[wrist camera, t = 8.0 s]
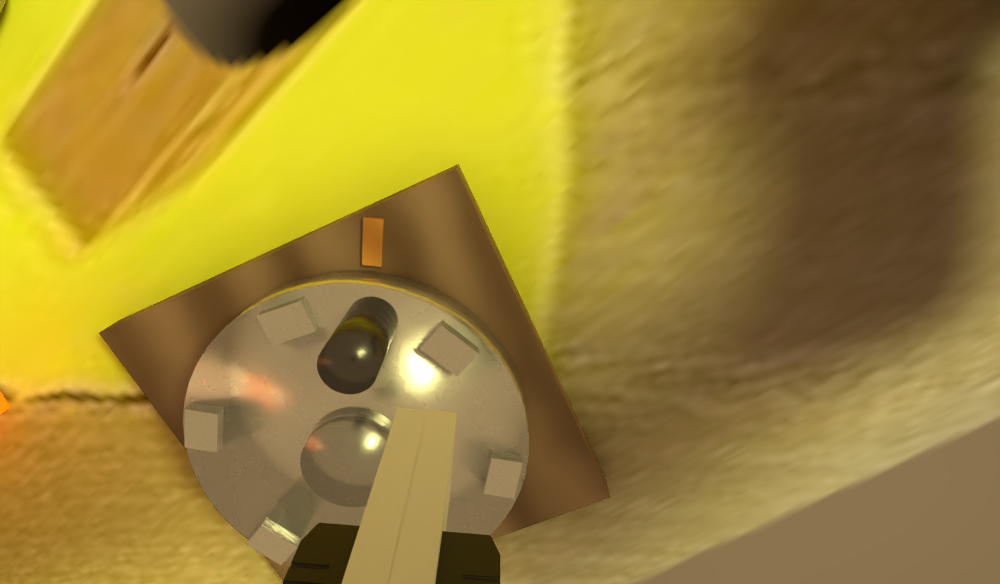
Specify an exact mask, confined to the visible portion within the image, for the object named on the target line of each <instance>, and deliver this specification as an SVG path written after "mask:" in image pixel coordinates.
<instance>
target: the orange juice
mask: <svg viewBox="0 0 1000 584" xmlns="http://www.w3.org/2000/svg"><path fill="white" fill-rule="evenodd" d="M9 408H10V406H9V404H8V403H7V401H6V400H5V398H4V396H3V395H2V393H1V391H0V414H2V413H3V412H5V411H6V410H8V409H9Z"/></svg>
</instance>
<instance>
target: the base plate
mask: <svg viewBox="0 0 1000 584" xmlns="http://www.w3.org/2000/svg"><path fill="white" fill-rule="evenodd" d="M339 270H367V271H376V272H385V273H390V274H394V275H398V276H402V277H406V278H410V279H413V280H415V281H418V282H421V283H423V284H426V285H429V286H431V287H433V288H435V289H437V290H439V291H441V292H443V293H445V294H447V295H448V296H450V297H452V298H453V299H455V300H456V301H458V302H459V303H461V304H462V305H464V306H465V307H466V308H468V309H469V310H470V311H472V312H473V313H474V314H475V315H476V316H477V317H478V318H479V319H481V320H482V321H483V322H484V323H485V324H486V325H487V326H488V327H489V329H490V330H491V331H492V332H493V333H494V334H495V336H496V337H497V338H498V339H499V340H500V342H501V343H502V345H503V347H504V348H505V350H506V351H507V353H508V354H509V356H510V357H511V360H512V362H513V364H514V366H515V368H516V370H517V372H518V375H519V378H520V381H521V384H522V388H523V391H524V395H525V402H526V409H527V420H528V433H529V457H528V463H527V469H526V475H525V478H524V481H523V484H522V487H521V490H520V493H519V495H518V497H517V499H516V501H515V503H514V505H513V507H512V509H511V510H510V511H509V513H508V514H507V516H506V517H505V519H504V520H503V521H502V523H501V524H500V525H499V526H498V527H497V528H496V529H495V530H494V532H493V533H492V534H491V535H490V536H491V538H492V539H494V538H497V537H500V536H502V535H505V534H508V533H511V532H514V531H516V530H519V529H522V528H525V527H528V526H531V525H533V524H536V523H539V522H542V521H545V520H547V519H550V518H553V517H556V516H559V515H561V514H564V513H567V512H570V511H573V510H576V509H578V508H581V507H584V506H587V505H590V504H592V503H595V502H598V501H601V500H604V499H607V498H609V497H610V494H609V491H608V487H607V483H606V479H605V477H604V475H603V473H602V471H601V468H600V466H599V464H598V462H597V460H596V458H595V456H594V453H593V451H592V449H591V447H590V445H589V443H588V441H587V438H586V436H585V434H584V432H583V430H582V428H581V426H580V423H579V421H578V419H577V417H576V415H575V413H574V411H573V409H572V406H571V404H570V402H569V400H568V398H567V396H566V394H565V391H564V389H563V387H562V385H561V383H560V381H559V379H558V376H557V374H556V372H555V370H554V368H553V366H552V364H551V361H550V359H549V357H548V355H547V353H546V351H545V349H544V346H543V344H542V342H541V340H540V338H539V336H538V334H537V331H536V329H535V327H534V325H533V323H532V321H531V319H530V316H529V314H528V312H527V310H526V308H525V306H524V304H523V301H522V299H521V297H520V295H519V293H518V291H517V289H516V286H515V284H514V282H513V280H512V278H511V276H510V274H509V271H508V269H507V267H506V265H505V263H504V261H503V259H502V256H501V254H500V252H499V250H498V248H497V246H496V244H495V241H494V239H493V237H492V235H491V233H490V231H489V229H488V226H487V224H486V222H485V220H484V218H483V216H482V214H481V211H480V209H479V207H478V205H477V203H476V201H475V199H474V196H473V194H472V192H471V190H470V188H469V186H468V184H467V181H466V179H465V177H464V175H463V173H462V171H461V169H460V166H459V164H458V165H456V166H454V167H451V168H449V169H447V170H445V171H443V172H441V173H438V174H436V175H434V176H432V177H430V178H428V179H425V180H423V181H421V182H419V183H417V184H414V185H412V186H410V187H408V188H406V189H404V190H401V191H399V192H397V193H395V194H393V195H391V196H388V197H386V198H384V199H382V200H380V201H378V202H375V203H373V204H371V205H369V206H367V207H365V208H362V209H360V210H358V211H356V212H354V213H352V214H349V215H347V216H345V217H343V218H341V219H338V220H336V221H334V222H332V223H330V224H328V225H325V226H323V227H321V228H319V229H317V230H315V231H312V232H310V233H308V234H306V235H304V236H302V237H299V238H297V239H295V240H293V241H291V242H289V243H286V244H284V245H282V246H280V247H278V248H276V249H273V250H271V251H269V252H267V253H265V254H262V255H260V256H258V257H256V258H254V259H252V260H249V261H247V262H245V263H243V264H241V265H239V266H236V267H234V268H232V269H230V270H228V271H226V272H223V273H221V274H219V275H217V276H215V277H213V278H210V279H208V280H206V281H204V282H202V283H200V284H197V285H195V286H193V287H191V288H189V289H186V290H184V291H182V292H180V293H178V294H176V295H173V296H171V297H169V298H167V299H165V300H163V301H160V302H158V303H156V304H154V305H152V306H150V307H147V308H145V309H143V310H141V311H139V312H137V313H134V314H132V315H130V316H128V317H126V318H123V319H121V320H119V321H117V322H116V323H114V324H112V325H111V326H109V327H108V328H106V329H105V330H103V331H101V332H100V333H99V334H100V335H101V336H102V338H103V339H104V340H105V342H106V343H107V344H108V346H109V347H110V348H111V350H112V351H113V352H114V354H115V355H116V356H117V358H118V359H119V361H120V362H121V363H122V365H123V366H124V367H125V369H126V370H127V371H128V373H129V374H130V375H131V377H132V378H133V379H134V381H135V382H136V383H137V385H138V386H139V387H140V389H141V390H142V391H143V393H144V394H145V395H146V397H147V398H148V399H149V401H150V402H151V403H152V405H153V406H154V407H155V409H156V410H157V411H158V413H159V414H160V415H161V417H162V418H163V419H164V421H165V422H166V424H167V425H168V426H169V428H170V429H171V430H172V432H173V433H174V434H175V436H176V437H177V438H178V440H179V441H180V442H181V444H182V445H183V446H184V428H183V413H184V401H185V397H186V393H187V388H188V384H189V381H190V379H191V376H192V374H193V372H194V369H195V367H196V365H197V363H198V361H199V359H200V358H201V356H202V355H203V353H204V352H205V350H206V348H207V347H208V346H209V344H210V343H211V342H212V341H213V340H214V339H215V338H216V337H217V335H218V334H219V333H220V332H221V331H222V330H223V329H224V328H225V327H226V326H227V325H229V324H230V323H231V322H232V321H233V320H234V319H235V318H236V317H237V316H239V315H240V314H241V313H242V312H243V311H244V310H245V309H247V308H248V307H249V306H250V305H251V304H253V303H254V302H255V301H256V300H257V299H259V298H260V297H262V296H264V295H265V294H267V293H269V292H270V291H272V290H274V289H275V288H277V287H279V286H282V285H284V284H286V283H289V282H291V281H293V280H296V279H299V278H303V277H306V276H310V275H314V274H317V273H324V272H331V271H339ZM185 449H186V448H185ZM186 450H187V449H186ZM266 558H267V559H268V560H269V562H270V563H271V564H272V566H273V567H274V568H275V570H276V571H277V572H278V574H279V575H280V576H281V578H282V579H283V580H284V578H285V576H286V573H287V571H288V569H289V567H290V566H291V564H290V563H288V562H286V561H284V562H283V564H282V565H279V564H278V563H276V562H274V561H273V560H271V559H269V558H268V557H266Z"/></svg>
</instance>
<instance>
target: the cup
mask: <svg viewBox="0 0 1000 584" xmlns="http://www.w3.org/2000/svg"><path fill="white" fill-rule="evenodd" d="M5 2H6V0H0V13H1V11H2V9H3V7H4V5H5Z"/></svg>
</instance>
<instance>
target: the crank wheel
mask: <svg viewBox="0 0 1000 584" xmlns="http://www.w3.org/2000/svg"><path fill="white" fill-rule="evenodd" d="M398 407H399V408H410V409H422V410H433V411H444V412H455V413H457V419H456V431H455V442H454V453H453V465H452V476H451V488H450V499H449V507H448V515H447V523H446V531H447V532H459V533H471V534H483V535H491V534H492V533H493V532H494V530H495V529H496V528H497V527H498V526H499V525H500V524H501V523H502V521H503V520H504V519H505V517H506V516H507V514H508V513H509V511H510V510H511V509H512V507H513V505H514V503H515V501H516V499H517V497H518V495H519V493H520V490H521V487H522V484H523V481H524V478H525V475H526V469H527V463H528V457H529V433H528V420H527V409H526V402H525V395H524V391H523V388H522V384H521V381H520V378H519V375H518V372H517V370H516V368H515V366H514V364H513V362H512V360H511V357H510V356H509V354H508V353H507V351H506V350H505V348H504V347H503V345H502V343H501V342H500V340H499V339H498V338H497V337H496V336H495V334H494V333H493V332H492V331H491V330H490V329H489V327H488V326H487V325H486V324H485V323H484V322H483V321H482V320H481V319H479V318H478V317H477V316H476V315H475V314H474V313H473V312H472V311H470V310H469V309H468V308H466V307H465V306H464V305H462V304H461V303H459V302H458V301H456V300H455V299H453V298H452V297H450V296H448V295H447V294H445V293H443V292H441V291H439V290H437V289H435V288H433V287H431V286H429V285H426V284H423V283H421V282H418V281H415V280H413V279H410V278H406V277H402V276H398V275H394V274H390V273H385V272H376V271H367V270H339V271H331V272H324V273H317V274H314V275H310V276H306V277H303V278H299V279H296V280H293V281H291V282H289V283H286V284H284V285H282V286H279V287H277V288H275V289H274V290H272V291H270V292H269V293H267V294H265V295H264V296H262V297H260V298H259V299H257V300H256V301H255V302H254V303H253V304H251V305H250V306H249V307H248V308H247V309H245V310H244V311H243V312H242V313H241V314H240V315H239V316H237V317H236V318H235V319H234V320H233V321H232V322H231V323H230V324H229V325H227V326H226V327H225V328H224V329H223V330H222V331H221V332H220V333H219V334H218V335H217V337H216V338H215V339H214V340H213V341H212V342H211V343H210V344H209V346H208V347H207V348H206V350H205V352H204V353H203V355H202V356H201V358H200V359H199V361H198V363H197V365H196V367H195V369H194V372H193V374H192V376H191V379H190V381H189V384H188V388H187V393H186V397H185V401H184V413H183V428H184V448H186V449H187V453H188V457H189V460H190V463H191V466H192V468H193V471H194V473H195V476H196V478H197V480H198V482H199V483H200V485H201V487H202V489H203V491H204V492H205V494H206V496H207V497H208V498H209V500H210V501H211V503H212V504H213V505H214V507H215V508H216V509H217V511H218V512H219V513H220V514H221V515H222V516H223V517H224V518H225V519H226V520H227V521H228V522H229V524H230V525H231V526H233V527H234V528H235V529H236V530H237V531H238V532H240V533H241V534H242V535H243V536H244V537H245V538H247V539H248V541H247V542H246V545H248V546H250V547H251V548H253V549H255V550H256V551H258V552H260V553H261V554H263V555H264V556H266V557H268V558H269V559H271V560H273V561H274V562H276V563H278V564H279V565H282V564H283V562H284V561H286V562H288V563H290V564H291V562H292V559H293V557H294V555H295V553H296V550H297V548H298V546H299V543H300V541H301V540H302V539H303V538H304V537H305V536H306V535H307V534H308V533H309V532H310V531H311V530H312V529H313V528H314V527H315V526H316V525H317V524H318V523H319V522H320V523H332V524H344V525H356V526H360V524H361V521H362V518H363V515H364V511H365V508H366V505H367V502H368V499H369V496H370V493H371V489H372V486H373V483H374V480H375V477H376V474H377V471H378V467H379V464H380V461H381V458H382V455H383V452H384V449H385V445H386V442H387V439H388V436H389V433H390V430H391V427H392V423H393V420H394V417H395V414H396V411H397V408H398Z"/></svg>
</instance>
